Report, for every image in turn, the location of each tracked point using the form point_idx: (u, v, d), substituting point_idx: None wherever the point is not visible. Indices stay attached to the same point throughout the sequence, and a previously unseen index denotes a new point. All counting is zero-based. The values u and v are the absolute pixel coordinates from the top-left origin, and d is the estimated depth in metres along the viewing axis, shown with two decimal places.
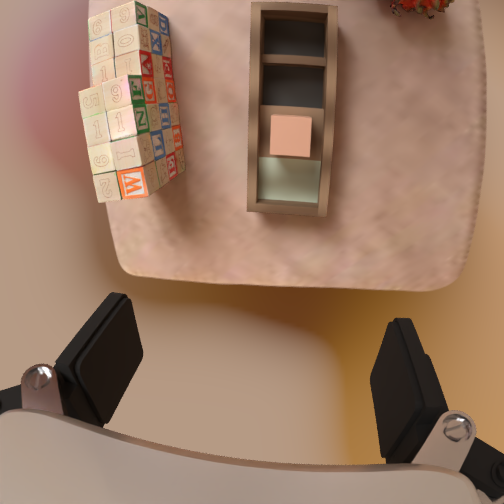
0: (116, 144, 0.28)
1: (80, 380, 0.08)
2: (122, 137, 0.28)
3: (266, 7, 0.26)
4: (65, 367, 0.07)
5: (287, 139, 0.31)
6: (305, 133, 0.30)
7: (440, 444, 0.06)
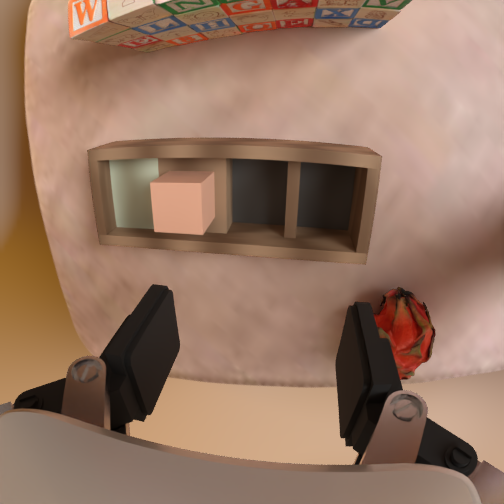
0: None
1: (130, 371, 0.08)
2: None
3: (370, 176, 0.23)
4: (116, 358, 0.08)
5: (171, 205, 0.24)
6: (182, 227, 0.24)
7: (393, 426, 0.06)
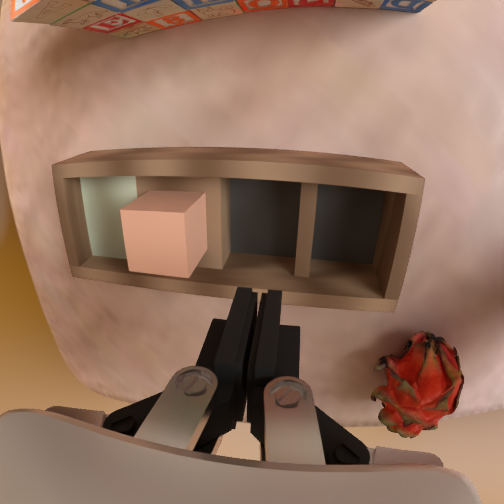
0: None
1: (237, 378, 0.08)
2: None
3: (409, 204, 0.17)
4: (227, 366, 0.08)
5: (147, 239, 0.18)
6: (162, 267, 0.19)
7: (282, 417, 0.07)
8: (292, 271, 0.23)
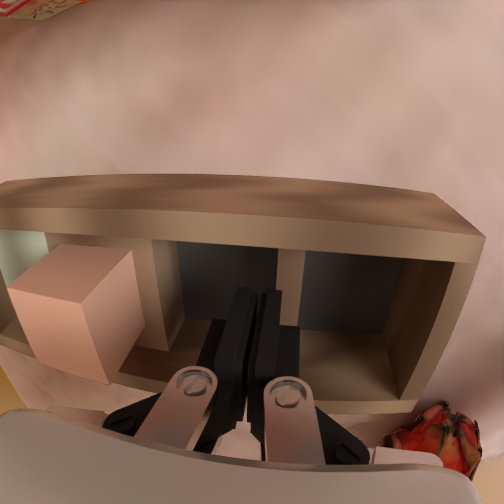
0: None
1: (237, 378, 0.08)
2: None
3: (457, 278, 0.09)
4: (227, 366, 0.08)
5: (46, 331, 0.10)
6: (74, 367, 0.11)
7: (282, 417, 0.07)
8: None
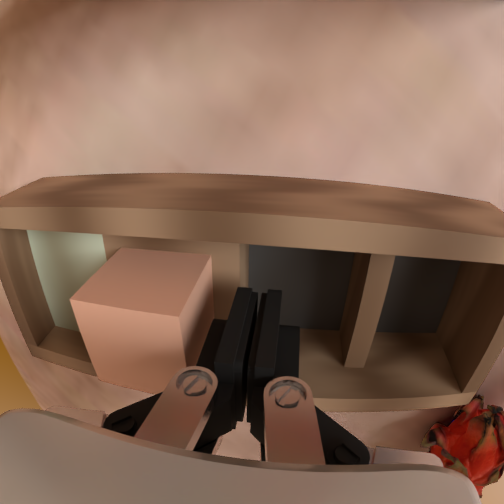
0: None
1: (237, 378, 0.08)
2: None
3: None
4: (227, 366, 0.08)
5: (120, 347, 0.10)
6: (149, 385, 0.11)
7: (282, 417, 0.07)
8: (340, 358, 0.15)
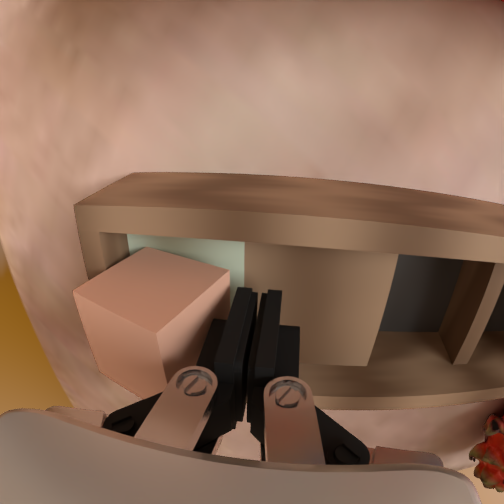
0: None
1: (237, 378, 0.08)
2: None
3: None
4: (227, 366, 0.08)
5: (112, 347, 0.10)
6: (138, 389, 0.10)
7: (282, 417, 0.07)
8: (447, 357, 0.14)
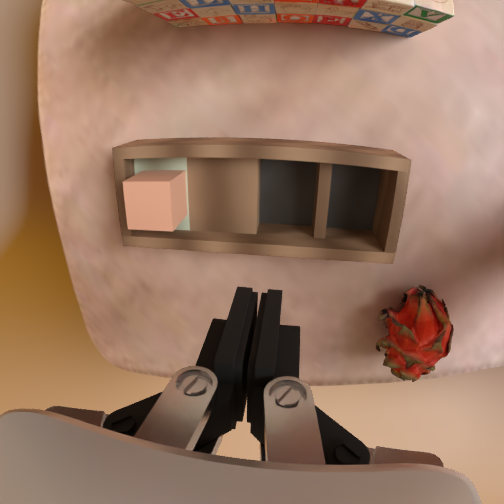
0: None
1: (237, 378, 0.08)
2: None
3: (400, 178, 0.23)
4: (227, 366, 0.08)
5: (143, 203, 0.24)
6: (153, 224, 0.25)
7: (282, 417, 0.07)
8: (311, 235, 0.29)
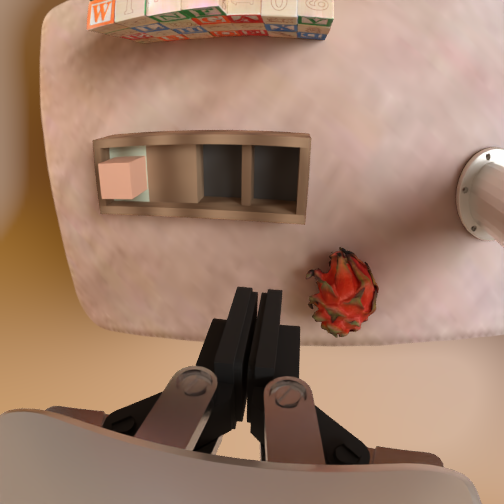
0: None
1: (237, 378, 0.08)
2: None
3: (303, 153, 0.30)
4: (227, 366, 0.08)
5: (111, 179, 0.32)
6: (119, 194, 0.33)
7: (282, 417, 0.07)
8: (241, 203, 0.36)
